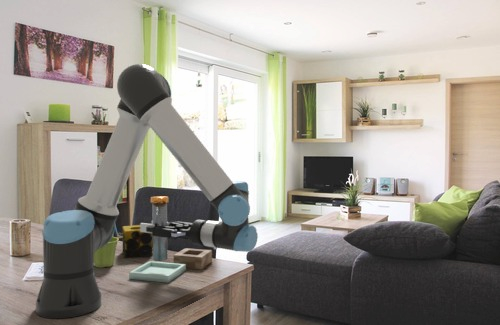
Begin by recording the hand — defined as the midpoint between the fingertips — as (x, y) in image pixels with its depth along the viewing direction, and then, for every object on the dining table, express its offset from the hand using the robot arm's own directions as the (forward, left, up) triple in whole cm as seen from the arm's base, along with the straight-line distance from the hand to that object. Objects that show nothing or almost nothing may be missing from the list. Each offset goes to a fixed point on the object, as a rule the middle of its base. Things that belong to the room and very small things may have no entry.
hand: (146, 225), depth 138 cm
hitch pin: (-1, -5, -10) cm, 11 cm away
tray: (-1, -5, -15) cm, 16 cm away
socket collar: (+13, -11, -15) cm, 22 cm away
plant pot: (+3, +17, -15) cm, 23 cm away
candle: (+20, +14, -15) cm, 28 cm away
